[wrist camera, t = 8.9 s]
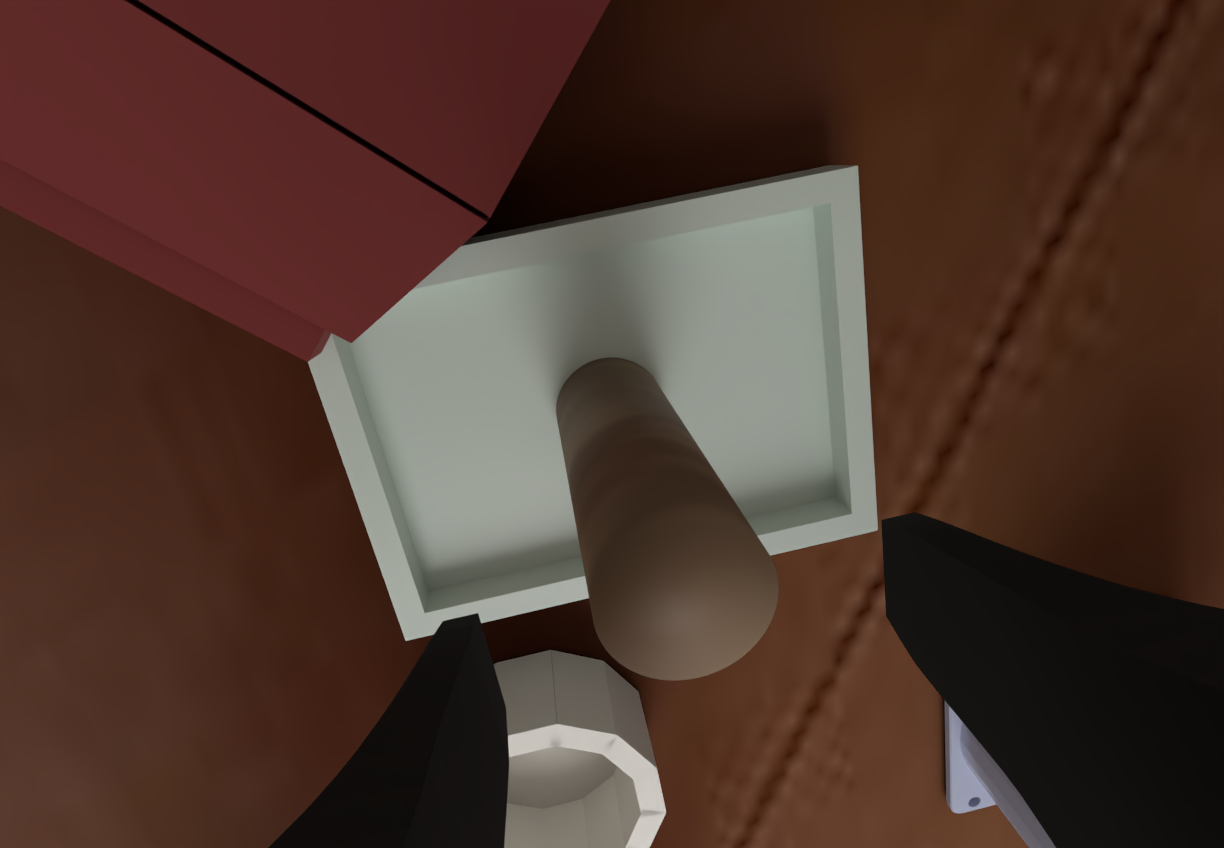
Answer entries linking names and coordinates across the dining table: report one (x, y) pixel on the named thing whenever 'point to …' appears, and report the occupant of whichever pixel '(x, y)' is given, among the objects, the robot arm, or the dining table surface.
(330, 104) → the dark red slab
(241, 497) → the dining table surface
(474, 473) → the tray
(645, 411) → the dowel
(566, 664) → the cup
